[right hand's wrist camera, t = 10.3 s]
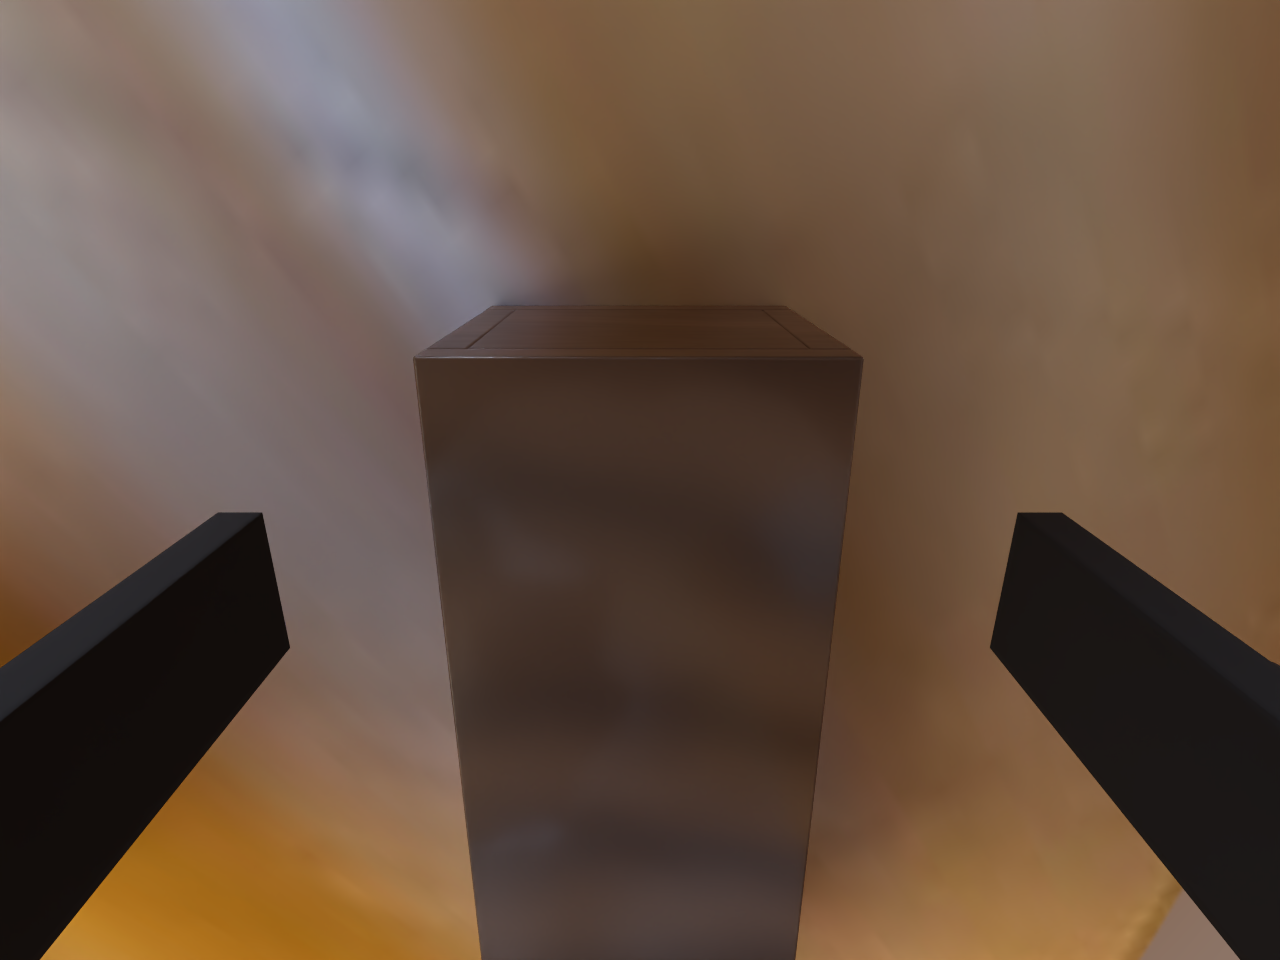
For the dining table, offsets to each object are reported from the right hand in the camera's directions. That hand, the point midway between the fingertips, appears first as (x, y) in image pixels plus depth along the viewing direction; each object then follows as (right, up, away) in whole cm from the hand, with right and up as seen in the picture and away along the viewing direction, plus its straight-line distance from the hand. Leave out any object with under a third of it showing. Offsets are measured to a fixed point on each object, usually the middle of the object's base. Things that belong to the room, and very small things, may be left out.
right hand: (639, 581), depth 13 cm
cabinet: (0, -2, +16) cm, 16 cm away
